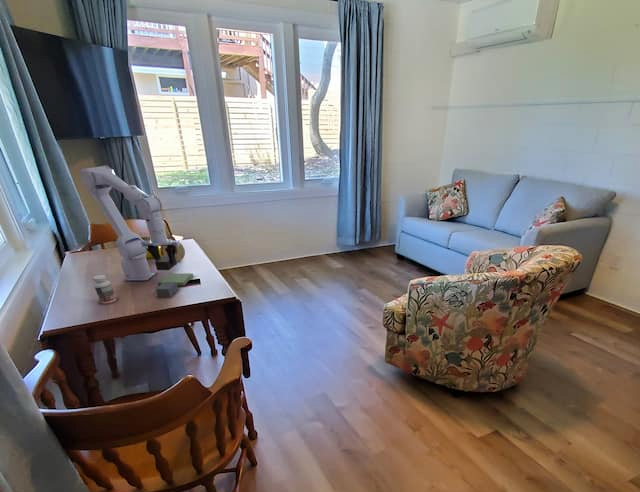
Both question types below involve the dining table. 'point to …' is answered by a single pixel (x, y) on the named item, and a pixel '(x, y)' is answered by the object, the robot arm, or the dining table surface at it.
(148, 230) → the robot arm
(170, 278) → the base pad
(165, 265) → the black rectangular block
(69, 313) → the dining table surface
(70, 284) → the dining table surface
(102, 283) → the pill bottle
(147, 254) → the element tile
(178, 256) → the stone disc
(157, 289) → the grey block
